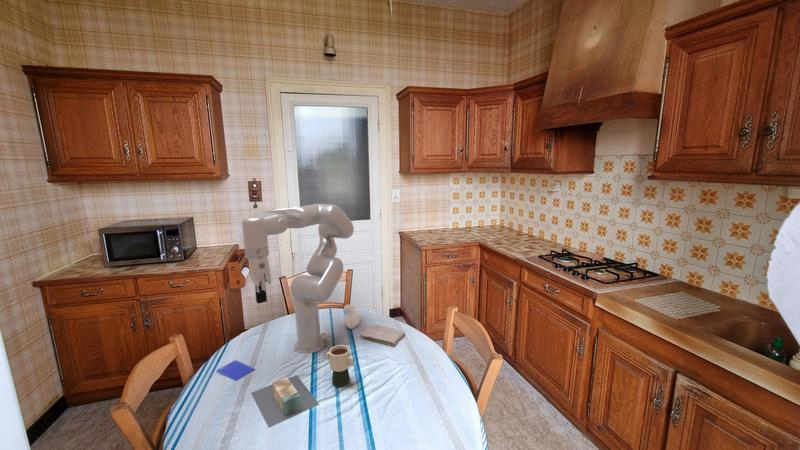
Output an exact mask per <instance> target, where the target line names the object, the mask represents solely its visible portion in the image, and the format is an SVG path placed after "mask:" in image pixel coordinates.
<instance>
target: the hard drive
mask: <svg viewBox="0 0 800 450" xmlns="http://www.w3.org/2000/svg"><path fill="white" fill-rule="evenodd" d="M254 371H257V370H256V368H254V367H252V366H250V365H247V364H245V363H243V362H241V361H239V360H237V359H235V360H232V361H230V362H229V363H228V364H225V365H223V366H222V367H220V368H218V369H216V371H215V373H216V374H218V375H220V376H222V377H226V378H229V379H231V380H232V381H235V382H238V381H239V380H242V379H243V378H244V377H246V376H248V375H249V374H252V372H254Z"/></svg>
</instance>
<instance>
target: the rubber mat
mask: <svg viewBox="0 0 800 450" xmlns="http://www.w3.org/2000/svg"><path fill="white" fill-rule="evenodd" d="M287 378H288V379H289V381H290V382H291V383H292V385H293V386H294V388H295V389H296V390H297V392H298V393H299V395H300V401H301V410H299V411H297V412H294V413H292V414H290V415H288V416H286V417H285V415H284V413H283V411H282V410H281V408H280V406H279V405H278V403H277V401H276V400H275V398H274V396H273V387H272V384H270V385H267V386H265V387H263V388H260V389H257V390H255V391H252V392H250V393H251V396H252V398H253V400H254V402H255V403H256V406H257V408H258V409H259V411H260V414H261V415H262V417H263V419H264V420H263V421H264V422H265V423H266V425H267V427H268V429H269V428H271V427H274V426H276V425H279V424H281V423H283V422H284V421H287V420H289V419H292V418H293V417H295V416H297V415H299V414H301V413H304V412H306V411H308V410H311V409H313V408H315V407H317V406H320V403H319V402H318V401H317V399H316V398H315V397H314V395H313V394H312V393H311V391H309V389H308V388H307V386H306V385H305V384H304V383H303V381H302V380H301V378H300V377H299V376H298V375H297V374H295V375H293V376H290V377H287Z"/></svg>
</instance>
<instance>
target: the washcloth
mask: <svg viewBox="0 0 800 450" xmlns="http://www.w3.org/2000/svg"><path fill="white" fill-rule="evenodd" d="M405 333H406V332H404V331H403V330H401V329H394V328H391V327H387V326H383V325H379V324H376V323H375V324H370V325H369V327H367V328H366V329H364V331H362V332H360V333H359V338H360V339H362V340H365V341H368V342H372V343H375V344H378V345H383V346H387V347H391V348H392V347H395V346H396V345H397V343H398V342H399V341H400V340H401V339H403V338H404V336H405Z"/></svg>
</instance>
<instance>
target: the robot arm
mask: <svg viewBox="0 0 800 450" xmlns="http://www.w3.org/2000/svg"><path fill="white" fill-rule="evenodd" d="M315 225H318V226H317V227H318V229H317V230H318V235H319V237H318V238H319V243H318V246H317V249H316V250H315V252H314V253H313V254H312V256H311V257H310V259H309V261H308V263H307V265H306V272H307V274H308V275H305V274H300V275H298V276H295V277H294V278H292V281H291V283H290V293H291V296H292V299H293V300H292V301H293V304H294V314H295V326H296V338H297V341H296V343H294V345H293V349H294V351H295V352H296V353H299V354H312V353H317V352H319V351H321V350H322V349H323V348H324V347H325V339H329V338H331V337H332V334H331V332H327V333H326V331H324V332H321V327H320V325H321V324H320V315H319V313H320V312H319V304H318V303H324V302H326V301H328V300H329V299H330V297H331V296H332V294H333V292H334V291H335V289H336V286H337V285H338V283H339V281H340V279H341V277H342V275H343V272H344V263H343V261H342V260H341V259H340V258H339V257H336V255H337V251H338V248H337V244H336V241H335V238H336V239H349V238H350V237H352V235H353V234H354V230H355V228H354V224H353V222H352V220H351V219H350V217H348V216H347V214H346V213H345V212H344V210H342V209H341V207H339V206H338V205H336V204H330V203H313V204H309V205H302V206H295V207H286V208H279V209H269V210H264V211H258V212H255V213H254V214H253V215H252V216H246V217H244V218H243V219H242V220H241V226H242V236H243V237H242V238H243V244H244V253H245V254H244V255H245V258H246V259H248V271H249V278H250V281H251V282H252V283H253V285H254V289H255V290H254V291H255V300H256V301H255V302H256V304H262V303H266V302H267V301H268V299H267V298H268V297H267V285H266V283H267V284H268V285H271V284H272V276H271V269H270V263H269V259H268V256H270V251H269V241H268V236H274V235H281V234H283V233H285V232H286V231H287V229H303V228H308V227H311V226H315Z"/></svg>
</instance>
